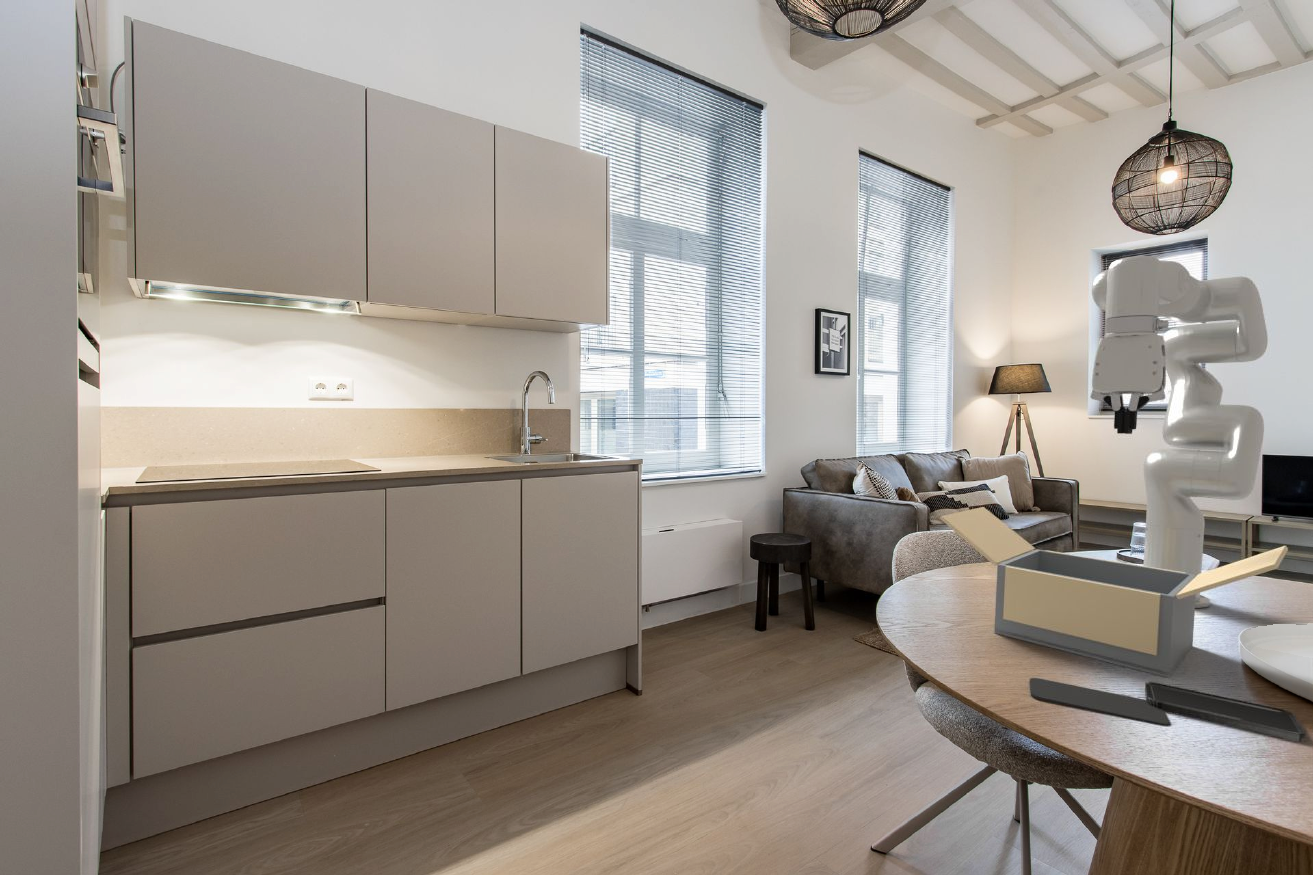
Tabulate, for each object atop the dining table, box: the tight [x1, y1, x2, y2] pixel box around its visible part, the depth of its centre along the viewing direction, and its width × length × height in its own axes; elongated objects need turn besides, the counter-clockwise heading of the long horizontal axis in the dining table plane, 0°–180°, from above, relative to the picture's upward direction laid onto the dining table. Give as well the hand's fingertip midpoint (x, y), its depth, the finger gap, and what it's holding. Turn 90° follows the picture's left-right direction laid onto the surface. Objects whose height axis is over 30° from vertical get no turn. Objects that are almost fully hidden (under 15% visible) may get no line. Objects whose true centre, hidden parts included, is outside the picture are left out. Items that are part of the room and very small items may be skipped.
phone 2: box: [1144, 681, 1306, 743], centre depth 83 cm, size 8×1×15 cm
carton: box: [993, 548, 1197, 679], centre depth 109 cm, size 21×24×12 cm
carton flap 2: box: [1176, 545, 1289, 599], centre depth 96 cm, size 20×12×1 cm
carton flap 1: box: [939, 506, 1036, 566], centre depth 121 cm, size 20×12×1 cm
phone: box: [1029, 677, 1171, 727], centre depth 86 cm, size 7×1×15 cm
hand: (1124, 433), depth 114 cm, fingers closed
